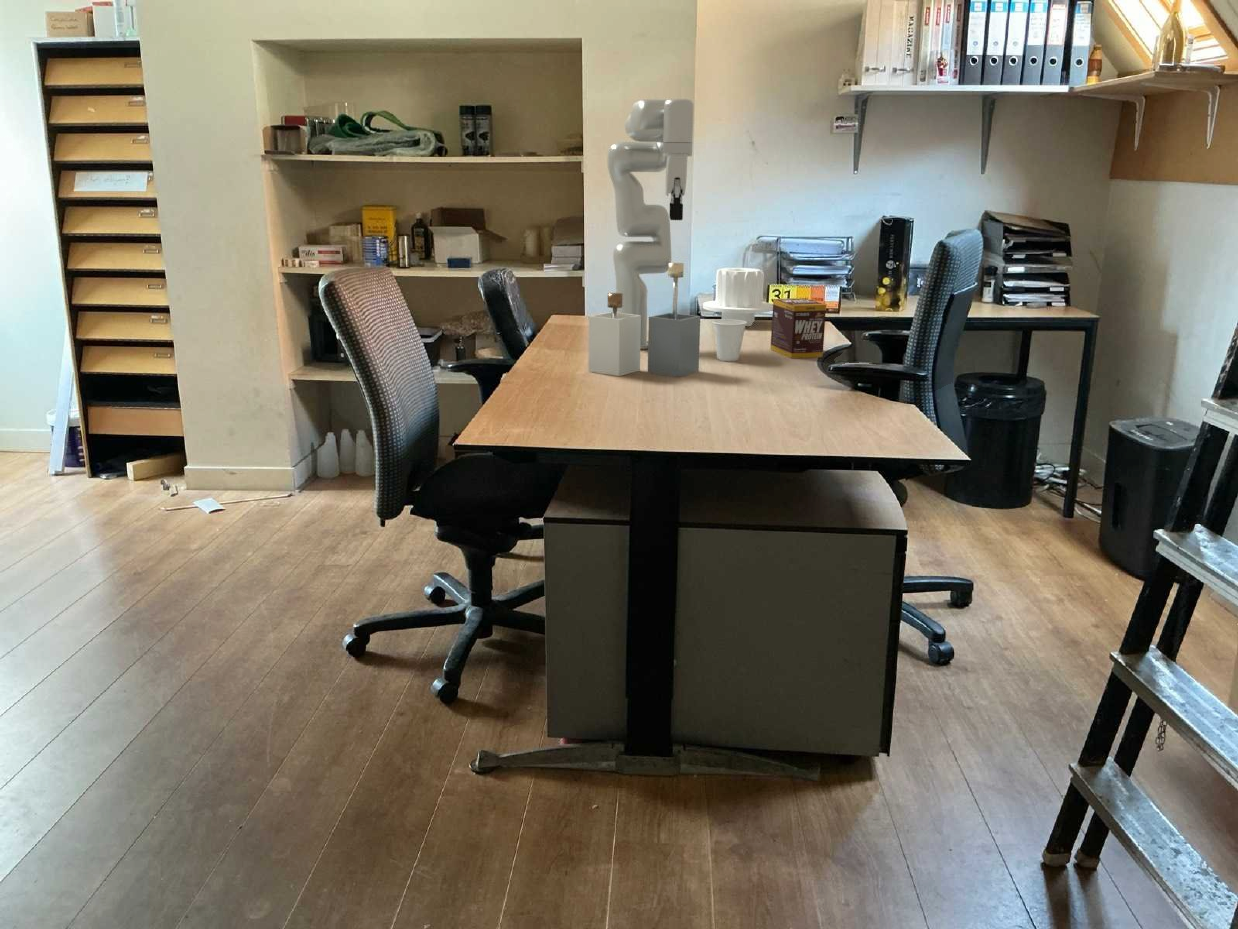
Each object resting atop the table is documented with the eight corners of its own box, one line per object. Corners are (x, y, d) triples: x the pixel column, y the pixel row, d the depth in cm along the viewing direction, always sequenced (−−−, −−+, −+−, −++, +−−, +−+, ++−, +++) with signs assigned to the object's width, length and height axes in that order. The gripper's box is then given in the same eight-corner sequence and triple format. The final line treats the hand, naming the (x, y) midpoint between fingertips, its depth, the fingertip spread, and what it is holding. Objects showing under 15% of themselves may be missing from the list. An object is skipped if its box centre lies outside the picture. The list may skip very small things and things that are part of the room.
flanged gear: (695, 327, 355) (697, 271, 350) (710, 317, 378) (712, 265, 373) (767, 331, 348) (770, 274, 343) (778, 320, 371) (781, 267, 366)
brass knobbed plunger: (653, 336, 276) (655, 263, 270) (669, 333, 282) (671, 261, 277) (678, 340, 272) (680, 265, 266) (694, 336, 278) (697, 263, 272)
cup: (743, 363, 292) (745, 324, 289) (708, 361, 294) (710, 323, 291) (746, 357, 301) (748, 319, 298) (712, 355, 303) (714, 318, 300)
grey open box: (647, 372, 278) (648, 316, 274) (667, 366, 286) (669, 312, 282) (679, 377, 273) (680, 320, 269) (698, 371, 281) (700, 316, 276)
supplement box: (791, 358, 300) (794, 305, 296) (769, 349, 315) (772, 298, 310) (823, 357, 303) (827, 304, 299) (801, 348, 317) (804, 297, 313)
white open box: (588, 371, 279) (588, 316, 274) (610, 365, 286) (610, 311, 282) (618, 376, 273) (619, 319, 269) (639, 370, 281) (640, 315, 277)
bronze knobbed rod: (593, 366, 278) (594, 293, 273) (611, 361, 285) (611, 291, 279) (617, 369, 274) (618, 296, 269) (634, 365, 280) (636, 293, 275)
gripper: (662, 150, 272) (661, 217, 277) (663, 149, 255) (661, 220, 260) (691, 150, 272) (689, 217, 276) (693, 149, 255) (691, 221, 260)
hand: (675, 219), depth 268 cm, fingers open, 9 cm apart
